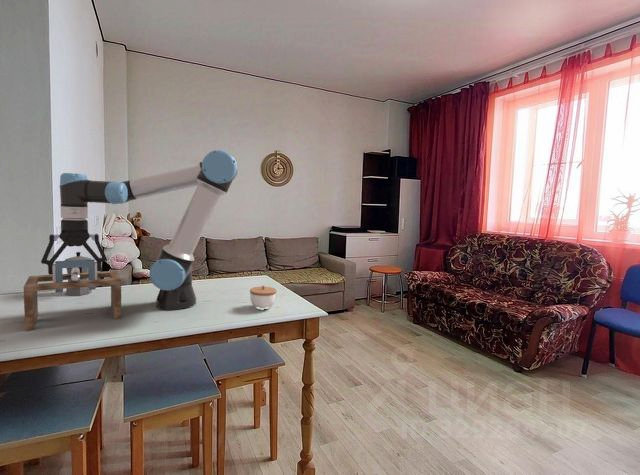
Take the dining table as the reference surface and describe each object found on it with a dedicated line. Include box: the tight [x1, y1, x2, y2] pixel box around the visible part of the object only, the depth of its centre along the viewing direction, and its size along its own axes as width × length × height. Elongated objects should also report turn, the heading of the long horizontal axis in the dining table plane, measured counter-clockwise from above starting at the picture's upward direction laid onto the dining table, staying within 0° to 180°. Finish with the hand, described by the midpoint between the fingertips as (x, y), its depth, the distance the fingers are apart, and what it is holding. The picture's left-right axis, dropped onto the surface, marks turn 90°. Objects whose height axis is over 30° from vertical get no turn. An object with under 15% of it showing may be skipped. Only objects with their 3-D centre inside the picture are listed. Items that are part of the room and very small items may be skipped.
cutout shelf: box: [23, 270, 122, 332], centre depth 120 cm, size 26×16×14 cm, turn 125°
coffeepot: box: [64, 251, 93, 297], centre depth 146 cm, size 15×9×18 cm, turn 39°
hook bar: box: [71, 267, 80, 283], centre depth 119 cm, size 2×15×2 cm, turn 35°
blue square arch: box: [54, 259, 97, 294], centre depth 119 cm, size 11×5×10 cm, turn 125°
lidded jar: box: [249, 285, 277, 308], centre depth 141 cm, size 11×11×9 cm
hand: (75, 282), depth 119 cm, fingers closed on blue square arch, 11 cm apart
